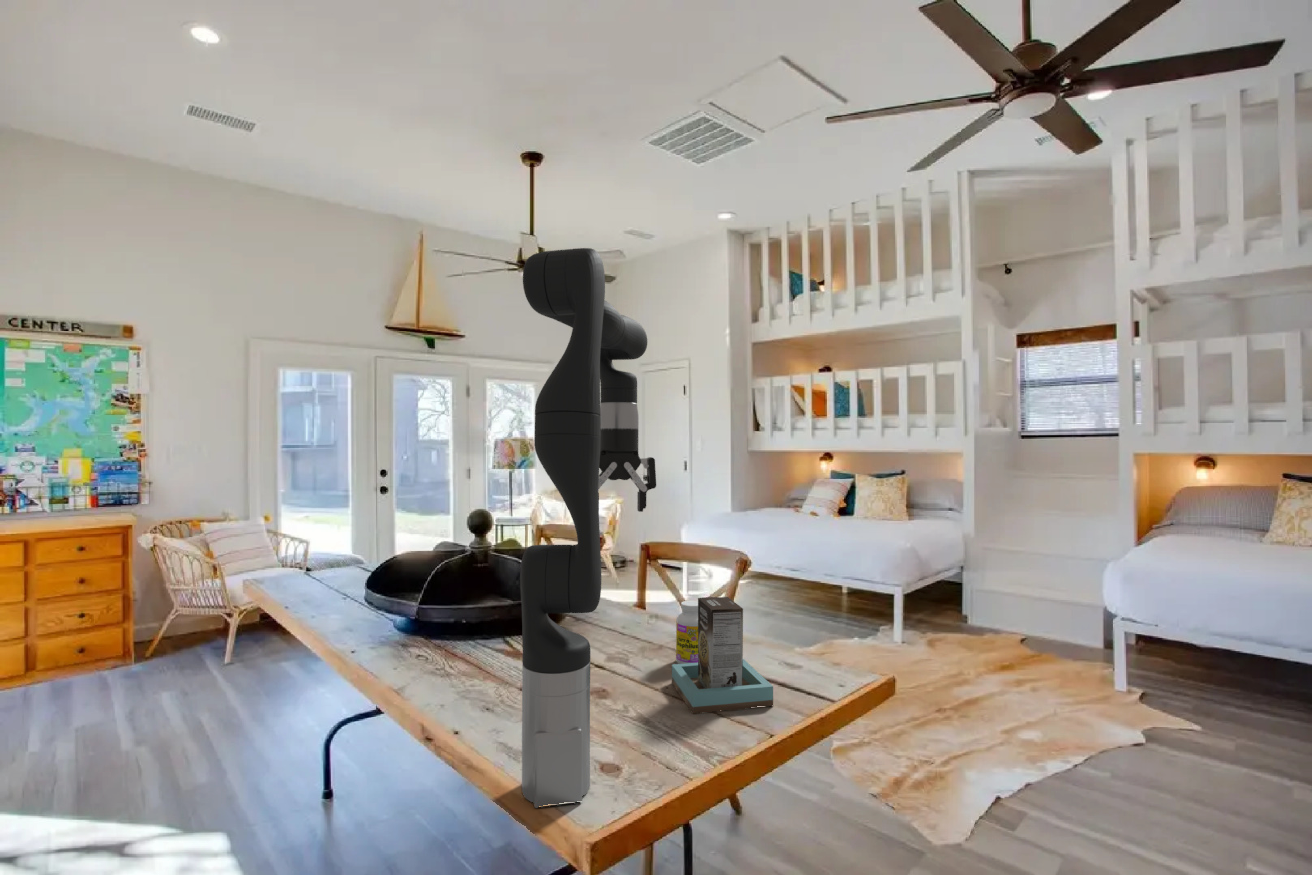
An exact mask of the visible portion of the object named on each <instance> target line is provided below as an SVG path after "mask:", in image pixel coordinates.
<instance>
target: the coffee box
mask: <svg viewBox="0 0 1312 875" xmlns="http://www.w3.org/2000/svg"><path fill="white" fill-rule="evenodd" d="M697 601H698V680H699V682H700V683H701V685H702V686H703V687H704V689H709V688H721V687H733V686H742V673H743V672H742V671H743V659H744V651H743V650H744V640H743V639H744V608H743V607H742V606H741V605H739V603H736V602H735V601H734V600H733V599H731V598H730V597H729V596H722V597H720V596H704V597H698V598H697Z"/></svg>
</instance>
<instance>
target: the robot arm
mask: <svg viewBox="0 0 1312 875" xmlns="http://www.w3.org/2000/svg"><path fill="white" fill-rule="evenodd" d="M602 260H603V259H602V257H601V255H600V254H599V252H598V251H597V250H595V249H594V248H591V247H590V248H589V247H583V248H582V247H580V248H579V247H578V248H568V249H567V248H566V249H555V250H546V251H540V252H537V253H533V254H532V255H531V256H529V257H528V258H527V259H526V261H525V262H524V265H523V270H522V286H523V291H524V295H525V297H526V300H527V303H528V304H529V306H530V308H532V309H533V311H535V312H536V313H538V314H539V315H541V316H544V317H547V318H549V319H553V320H554V321H557V322H559V323H562V324H563V325H566V326H568V327H570V328H571V329H572V330H571V334H570V338H569V341H568V343H567V347H566V348H565V350H564V353H563V355H562V356H561V358H560V359H559V361H558V362H557V364H556V365H555V367H554V369H553V370H552V371H551V373H550V375H549V376H548V378H547V380H545V383H544V384H543V385H542V388H541V390H540V391H539V393H538V396H537V398H536V402H535V408H534V440H533V441H534V450H535V453H536V456H537V458H538V460H539V462H540V464H541V465H542V467H543V469H544V471H545V474H547V476H548V477H549V479H550V480H551V482H552V484H553V485H554V486H555V488H556V490H557V491H558V493H559V494H560V496H561V497H562V500H563V502H564V504H565V505H566V509H567V510H568V512H569V514H570V516H571V519H572V521H573V525H574V528H575V533H576V537H577V544H534V545H530V546H528V547H527V548H526V549H525V550H524V553H523V555H522V558H521V562H520V575H519V580H520V581H519V583H520V584H519V585H520V603H521V623H522V624H521V625H522V632H521V634H522V635H521V636H522V637H521V638H522V639H521V641H522V642H521V643H522V646H521V647H522V659H521V660H522V673H521V674H522V678H521V679H522V681H521V684H522V685H521V687H522V689H521V690H522V691H521V693H522V694H521V712H522V713H521V793H522V792H523V794H522V795H524V796H525V797H524V796H523V797H524V798H525V799H526V800H527V801H529V802H530V803H532V802H533V803H532V804H533V805H534V808H535V809H538V807H539V806H543V805H548V804H559V803H564V802H577V801H582V802H583V797H584V796H586V794H587V793H588V792H589V790H590V787H591V645H590V642H589V640H588V638H586V637H585V636H584V635H582V634H580V633H577V632H574V631H572V630H569V629H567V628H564V627H562V626H561V625H559V624H557V623H556V622H555V621H554V620H552V618H550V617H549V614H588V613H593V612H594V611H595V610H596V609H597V608H598V606H599V603H600V600H601V595H602V594H601V593H602V592H601V591H602V558H601V556H602V555H601V554H602V553H601V533H600V530H601V529H600V493H599V490H600V489H601V487H602V486H603V485H604V484H605V482H607V480H610V481H617V480H622V481H628V480H631V481H632V483H634V485H635V486H636V488H637V489H638V491H637V506H636V507H637V512H640V513H641V512H644V509H646V508H647V493H648V491H650V490H652V489H656V488H657V477H656V476H657V474H656V473H657V472H656V459H655V457H649V456H648V457H645V458H640V455H639V409H638V379H637V378H638V377H637V376H636V375H635V373H631V372H628V371H624V370H623V371H622V370H618V369H616V368H615V366H614V365H613V364H614V363H613V361H622V360H624V361H625V360H631V361H632V360H637V359H639V358H641V357H642V356H644V354H645V352H646V351H647V347H648V336H647V333H646V331H645V329H644V327H643V326H642V325H641V324H640V323H639V322H638V321H637V320H635V319H633V318H631V317H628V316H625V315H623V314H621V313H620V312H619V311H618V310H617V308H615V307H614V305H613V304H611V303H610V302H608V301H607V300H605V298H606V276H605V275H606V273H605V268H604V264H603V261H602ZM641 465H642V466H643V468H644V469H646V479H647V482H646V483H644V481H643V480H642V478H641V476H639V474H638V473H637V470H638V468H640V466H641ZM600 471H601V472H600ZM583 795H584V796H583ZM582 796H583V797H582Z"/></svg>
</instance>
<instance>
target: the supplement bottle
mask: <svg viewBox="0 0 1312 875" xmlns="http://www.w3.org/2000/svg"><path fill="white" fill-rule="evenodd" d="M680 603H681V604H680V608H681V613H679V614H678V615H677V617H676V627H675V628H676V631H675V632H676V635H675V638H676V639H675V640H676V641H675V645H676V646H675V661H676V664H686V663H698V600H684V601H682V602H680Z"/></svg>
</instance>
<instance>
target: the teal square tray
mask: <svg viewBox="0 0 1312 875" xmlns="http://www.w3.org/2000/svg"><path fill="white" fill-rule="evenodd" d="M742 672H743V673H742V686H733V687H721V688H709V689H704V687H703V686H702V685H701V683H700V682H699V680H698V663H686V664H678V663H674V664H671V684H672V685H673V687H674V688H675V689H677V690H676V691H677V693H678V694H679V696H680V698H683V699H682V700H683V702H684V701H685V702H684V703H685V705H686V704H687V705H686V706H687V707H689V708H688V709H689V711H690V710H691V711H692V712H691V711H690V712H691V714H692V715H695V713H698V714H703V713H702V712H708V713H713V712H712V711H719V712H721V711H720V710H730V711H738V709H741V710H746V709H745V708H751V707H757V706H772V705H773V706H774V686H773V684H771V683H770V682H769V681H768V680H767V679H766V678H765V677H763V675H762V674H760V673H759V672H758V671H757V670H756V669H755V668H754V667H753V666H752V665H751V664H749V663H748V662H747V660H746V659H745V658H743V671H742Z"/></svg>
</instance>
